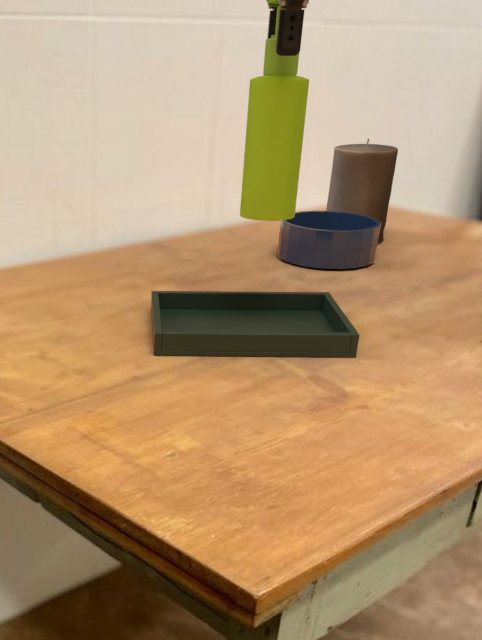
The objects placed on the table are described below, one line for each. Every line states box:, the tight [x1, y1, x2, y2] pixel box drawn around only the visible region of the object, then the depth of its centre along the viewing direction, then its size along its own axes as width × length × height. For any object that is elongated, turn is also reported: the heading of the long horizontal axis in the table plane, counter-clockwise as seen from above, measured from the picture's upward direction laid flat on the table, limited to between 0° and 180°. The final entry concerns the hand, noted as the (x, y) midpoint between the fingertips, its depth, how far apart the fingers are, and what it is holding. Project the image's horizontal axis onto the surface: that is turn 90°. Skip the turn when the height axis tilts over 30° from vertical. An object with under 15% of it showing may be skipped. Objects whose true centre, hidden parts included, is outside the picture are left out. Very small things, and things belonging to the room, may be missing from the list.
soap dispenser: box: [239, 0, 310, 222], centre depth 83 cm, size 6×7×20 cm
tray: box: [150, 290, 360, 358], centre depth 93 cm, size 22×16×2 cm
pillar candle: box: [325, 138, 399, 244], centre depth 129 cm, size 10×10×15 cm
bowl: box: [276, 210, 381, 270], centre depth 121 cm, size 14×14×6 cm
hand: (282, 53), depth 80 cm, fingers closed on soap dispenser, 5 cm apart
